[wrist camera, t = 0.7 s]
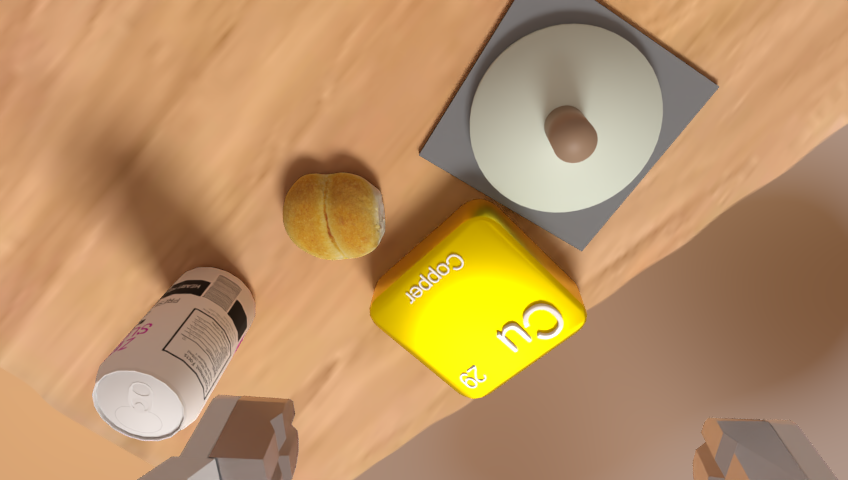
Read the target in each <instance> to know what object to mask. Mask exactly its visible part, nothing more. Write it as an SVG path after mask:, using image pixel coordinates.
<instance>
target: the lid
mask: <svg viewBox="0 0 848 480" xmlns="http://www.w3.org/2000/svg"><path fill="white" fill-rule="evenodd" d="M662 118H663V102H662V94H661V89H660V86H659V82H658V79H657V77H656V75H655V73H654V70H653V68H652V67H651V65H650V64H649V62H648V61H647V59H646V58H645V56H644V55H643V54H642V53H641V52H640V51H639V50H638V49H637V48H636V47H635V46H634V45H632V44H631V43H630V42H629V41H627V40H626V39H624V38H622V37H621V36H619V35H617V34H615V33H613V32H611V31H608V30H606V29H603V28H601V27H596V26H592V25H587V24H576V23H573V24H559V25H554V26H549V27H546V28H543V29H539V30H536V31H534V32H532V33H530V34H528V35H526V36H524V37H522V38H520V39H519V40H517V41H516V42H514V43H513V44H511V45H510V46H509V47H508V48H506V49H505V50H504V51H503V52H502V53H501V54H500V55H499V56H498V57H497V58H496V59H495V60H494V61H493V62H492V64H491V65H490V67H489V68H488V69H487V71H486V72H485V74H484V75H483V77H482V79H481V81H480V83H479V85H478V87H477V90H476V92H475V95H474V98H473V102H472V106H471V113H470V138H471V145H472V149H473V152H474V156H475V159H476V161H477V163H478V165H479V168H480V169H481V171H482V172H483V174H484V176H485V177H486V179H487V180H488V181H489V182H490V183H491V185H492V186H493V187H494V188H495V189H497V190H498V191H499V192H500V193H501V194H502V195H504V196H505V197H507V198H508V199H510V200H511V201H513V202H515V203H517V204H519V205H521V206H524V207H527V208H530V209H534V210H538V211H543V212H571V211H577V210H581V209H585V208H589V207H591V206H594V205H597V204H599V203H601V202H603V201H605V200H607V199H609V198H611V197H612V196H614V195H615V194H617V193H618V192H620V191H621V190H622V189H624V188H625V187H626V186H627V185H628V184H629V183H631V182H632V181H633V179H634V178H635V177H636V176H637V175H638V174H639V173H640V172H641V170H642V169H643V167H644V166H645V165H646V163H647V162H648V160H649V158H650V156H651V155H652V153H653V151H654V148H655V146H656V144H657V141H658V138H659V134H660V130H661V125H662Z"/></svg>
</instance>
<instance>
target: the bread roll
mask: <svg viewBox="0 0 848 480" xmlns="http://www.w3.org/2000/svg"><path fill="white" fill-rule="evenodd" d="M283 222H284V226H285V229H286V232H287V234H288V235H289V237H290V239H291V240H292V241H293V242H294V243H295V244H296V245H297V246H298V247H299V248H300V249H302V250H303V251H305V252H307V253H309V254H311V255H313V256H315V257H318V258H321V259H326V260H339V259H350V258H359V257H362V256H364V255H366V254H369V253H370V252H372V251H373V250H375V249H376V247H377V246H378V245H379V243H380V241H381V239H382V237H383V235H384V232H385V211H384V204H383V201H382V195H381V192H380V191H379V189H377V188H376V187H375V186H373V185H372V184H370V183H369V182H368V181H367V180H366V179H364V178H362V177H361V176H358V175H355V174H351V173H344V172H341V173H334V174H318V173H313V174H307V175H304V176H302V177H300V178H299V179H298V180H297V181H296V182H295V183H294V184H293V186H292V187H291V188H290V190H289V191H288V193H287V195H286V197H285V202H284V206H283Z"/></svg>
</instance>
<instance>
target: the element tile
mask: <svg viewBox="0 0 848 480" xmlns="http://www.w3.org/2000/svg"><path fill="white" fill-rule="evenodd" d="M370 316H371V318H372V320H373V322H374V323H375V324H376V325H377V326H378V327H379V328H380V329H381V330H382V331H384V332H385V333H386V334H387V335H389V336H390V337H391V338H392V339H393V340H395V341H396V342H397V343H398V344H399V345H401V346H402V347H403V348H404V349H406V350H407V351H408V352H409V353H410V354H412V355H413V356H414V357H415V358H416V359H418V360H419V361H420V362H421V363H423V364H424V365H425V366H426V367H427V368H429V369H430V370H431V371H432V372H433V373H435V374H436V375H437V376H438V377H440V378H441V379H442V380H443V381H444V382H446V383H447V384H448V385H449V386H450V387H452V388H453V389H454V390H455V391H457V392H458V393H459V394H461V395H463V396H465V397H468V398H472V399H475V398H481V397H484V396H486V395H488V394H490V393H492V392H493V391H494V390H496V389H497V388H499V387H500V386H501V385H503V384H504V383H506V382H507V381H508V380H510V379H511V378H513V377H514V376H516V375H517V374H518V373H520V372H521V371H523V370H524V369H526V368H527V367H528V366H530V365H531V364H533V363H534V362H536V361H537V360H538V359H540V358H541V357H543V356H544V355H545V354H547V353H548V352H550V351H551V350H552V349H554V348H555V347H557V346H558V345H560V344H561V343H562V342H564V341H565V340H567V339H568V338H570V337H571V336H572V335H574V334H575V333H577V332H578V331H579V330H580V329H581V328H582V327H583V325H584V324H585V322H586V317H587V312H586V309H585V306H584V304H583V301H582V298H581V295H580V293H579V290H578V287H577V285H576V284H575V282H574V281H573V280H572V279H571V278H570V277H569V276H567V275H566V274H565V273H564V272H563V271H562V270H561V269H560V268H559V267H558V266H557V265H556V264H555V263H554V262H553V261H552V260H551V259H550V258H549V257H548V256H547V255H546V254H545V253H544V252H543V251H542V250H541V249H540V248H539V247H538V246H537V245H536V244H535V243H534V242H533V241H532V240H531V239H530V238H529V237H528V236H527V235H526V234H525V233H524V232H523V231H522V230H521V229H520V228H519V227H518V226H517V225H516V224H515V223H514V222H513V221H512V220H511V219H510V218H508V217H507V216H506V215H505V214H504V213H503V212H502V211H501V210H500V209H499V208H498V207H497V206H496V205H495V204H493V203H492V202H489V201H487V200H484V199H475V200H472V201H469V202H467V203H465V204H464V205H462V206H461V207H460V208H459V209H458V210H457V211H455V212H454V213H453V214H452V215H451V216H450V217H449V218H448V219H446V220H445V221H444V222H443V223H442V224H441V225H440V226H439V227H437V228H436V229H435V230H434V231H433V232H432V233H431V234H429V235H428V236H427V237H426V238H425V239H424V240H423V241H422V242H420V243H419V244H418V245H417V246H416V247H415V248H414V249H413V250H411V251H410V252H409V253H408V254H407V255H406V256H405V257H403V258H402V259H401V260H400V261H399V262H398V263H397V264H396V265H394V266H393V267H392V268H391V269H390V270H389V271H388V272H387V273H385V274H384V275H383V276H382V277H381V278H380V279H379V281H378V282H377V284H376V287H375V290H374V293H373V297H372V301H371V305H370Z"/></svg>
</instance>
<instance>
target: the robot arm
mask: <svg viewBox="0 0 848 480" xmlns="http://www.w3.org/2000/svg"><path fill="white" fill-rule="evenodd" d="M294 416H295V410H294V405H293V401H292V400H290V399H281V398H266V397H252V396H229V395H218V396H216V397H215V398H214V399H213V400H212V401H211V403H210V404H209V406H208V408H207V410H206V411H205V413H204V415H203V417H202V418H201V420H200V422H199V423H198V425H197V427H196V429H195V430H194V432H193V434H192V436H191V437H190V439H189V441H188V442H187V444H186V446H185V448H184V449H183V451H182V453H181V455H180V456H179V457H170V458H169V459H167V460H166V461H164V462H163V463H161V464H160V465H158V466H157V467H155V468H154V469H153V470H151V471H149V472H148V473H146V474H145V475H143V476H142V477H140V478H139V479H137V480H291V479H292V477H293V474H294V471H295V468H296V463H297V457H298V432H297V430H296V429H295V428H294V427H293V426H292V425H291V424H292V421H293V418H294ZM701 433H702V435H703V437H704V439H705V441H706V442H705V443H704V444H703V445H701V446H700V447H699V448H697V449H696V452H695V456H694V460H693V477H694V480H838V479H837V477H836V476H835V475H834V473H833V472H832V471H831V469H830V468H829V467H828V465H827V464H826V463H825V461H824V460H823V458H822V457H821V456H820V455H819V453H818V452H817V450H816V449H815V448H814V446H813V445H812V444H811V442H810V441H809V439H808V438H807V437H806V435H805V434H804V433H803V431H802V430H801V429H800V427H799V426H798V425H797V424H796V423H794V422H793V421H791V420H773V419H763V420H760V419H736V418H708V419H707V420H706V421H705V423H704V425H703V428H702V431H701Z"/></svg>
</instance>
